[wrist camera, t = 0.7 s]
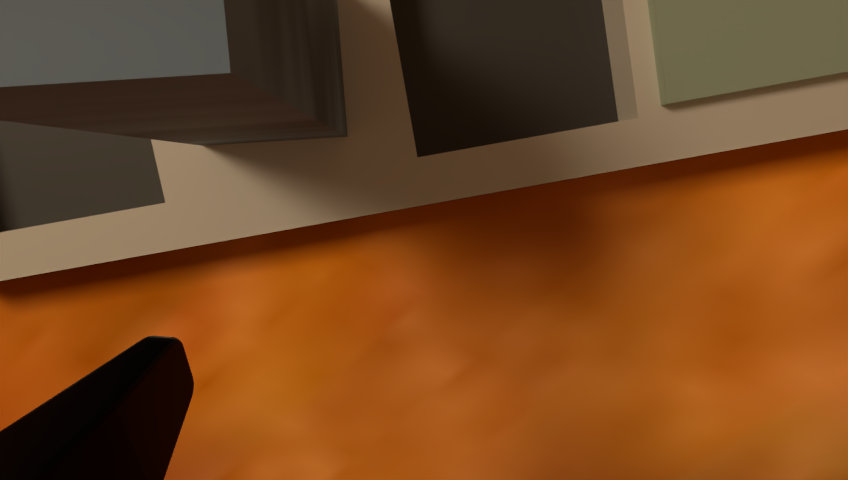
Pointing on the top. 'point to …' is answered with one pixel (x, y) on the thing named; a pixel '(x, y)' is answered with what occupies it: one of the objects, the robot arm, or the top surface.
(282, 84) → the slate block
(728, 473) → the top surface
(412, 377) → the top surface
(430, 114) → the board
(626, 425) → the top surface
